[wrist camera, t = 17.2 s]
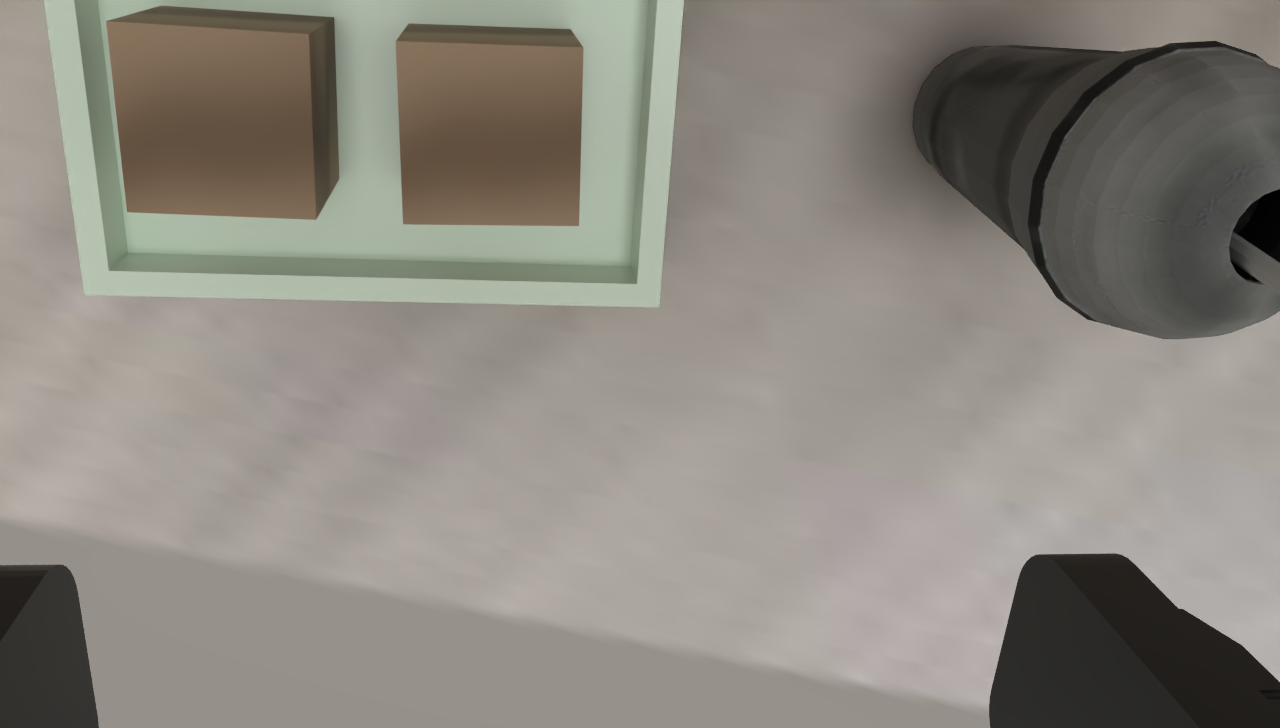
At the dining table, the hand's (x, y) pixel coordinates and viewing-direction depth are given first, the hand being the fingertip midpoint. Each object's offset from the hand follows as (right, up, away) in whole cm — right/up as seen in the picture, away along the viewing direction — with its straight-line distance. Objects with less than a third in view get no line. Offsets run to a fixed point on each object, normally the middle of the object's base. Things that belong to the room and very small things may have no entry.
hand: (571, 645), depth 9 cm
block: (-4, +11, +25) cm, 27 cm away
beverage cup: (+12, +11, +28) cm, 33 cm away
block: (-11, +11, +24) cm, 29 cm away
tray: (-8, +11, +25) cm, 28 cm away
